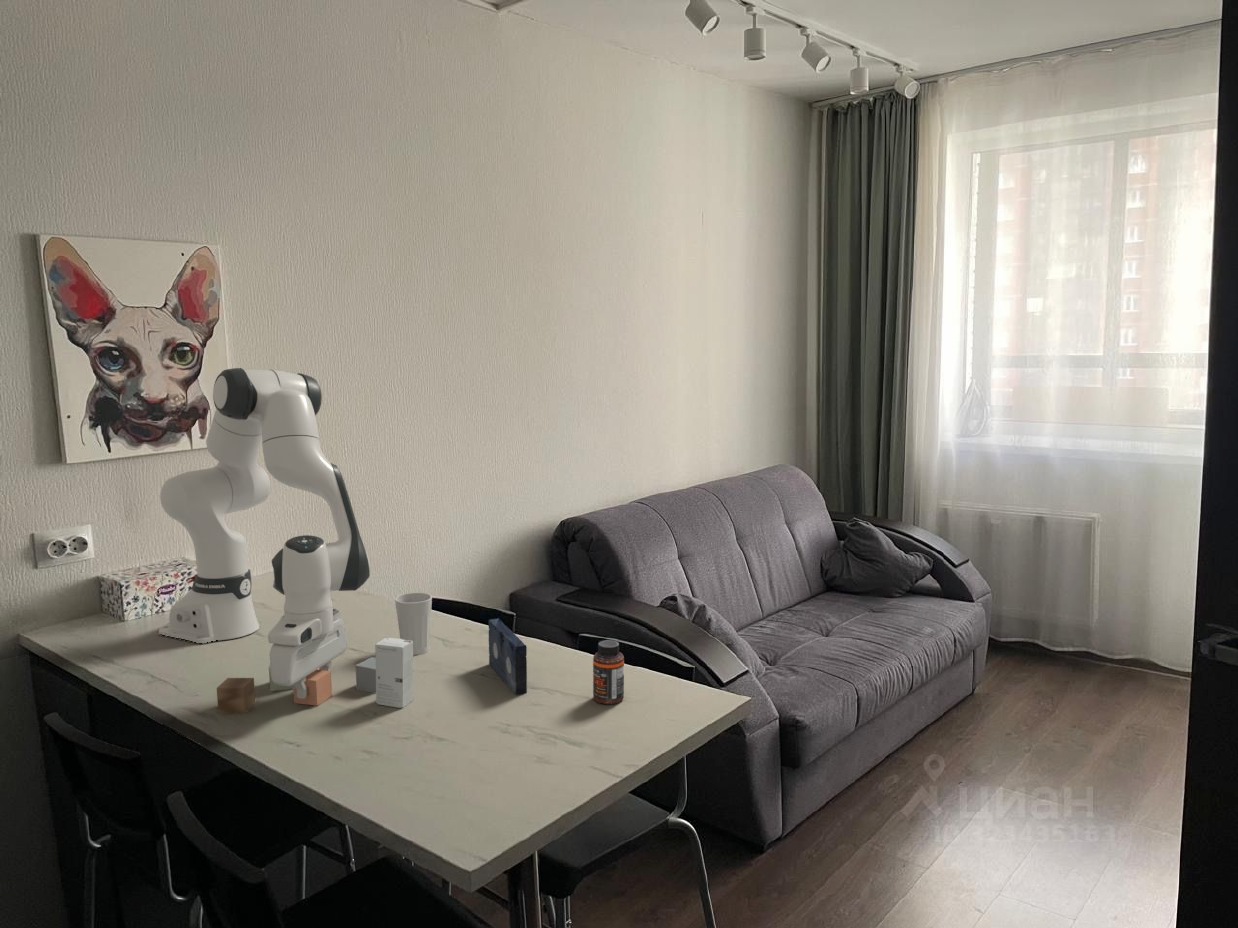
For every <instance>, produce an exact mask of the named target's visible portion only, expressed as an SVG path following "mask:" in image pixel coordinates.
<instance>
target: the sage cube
mask: <svg viewBox="0 0 1238 928" xmlns="http://www.w3.org/2000/svg"><path fill="white" fill-rule="evenodd" d="M268 678H269V691H270V692H275V691H283V690H285V691H286V690H294V685H291V686H280V685H275V684H274V682H273V681H272V679H271V671H270V663H269V665H268Z"/></svg>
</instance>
